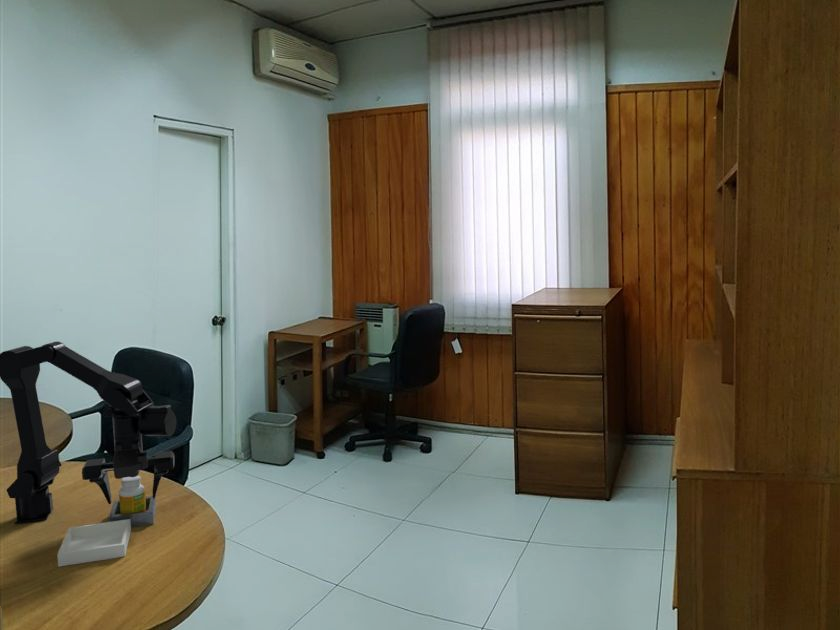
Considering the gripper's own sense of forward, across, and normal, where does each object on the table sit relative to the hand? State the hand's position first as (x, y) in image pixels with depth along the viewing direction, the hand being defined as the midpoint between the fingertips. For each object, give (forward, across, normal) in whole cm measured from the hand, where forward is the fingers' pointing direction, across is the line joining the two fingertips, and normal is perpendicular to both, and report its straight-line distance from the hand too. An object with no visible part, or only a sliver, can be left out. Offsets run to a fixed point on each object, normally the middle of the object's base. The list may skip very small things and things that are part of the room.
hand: (132, 500), depth 145 cm
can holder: (+4, 0, 0) cm, 4 cm away
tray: (+4, -6, -12) cm, 14 cm away
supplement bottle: (+4, 0, 0) cm, 5 cm away
